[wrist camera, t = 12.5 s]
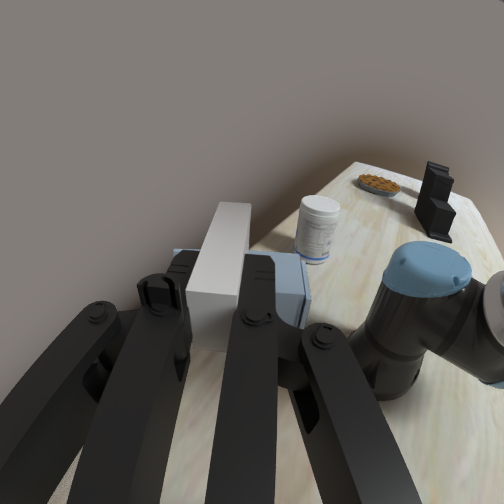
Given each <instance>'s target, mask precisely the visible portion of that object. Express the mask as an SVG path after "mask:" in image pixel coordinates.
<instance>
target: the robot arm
mask: <svg viewBox="0 0 504 504" xmlns="http://www.w3.org/2000/svg"><path fill="white" fill-rule="evenodd" d="M500 1H502V2H504V0H500ZM250 215H251V204H248V203H234V202H220V204H219V206H218V208H217V211H216V213H215V216H214V218H213V220H212V223H211V226H210V228H209V230H208V233H207V235H206V238H205V240H204V243H203V246H202V248H201V251H196V250H184V249H183V250H182V251H180V252H179V253H178V254H177V255H175V256H174V258H173V260H172V262H171V265H170V266H169V268H168V270H167V273H166V274H153V275H149V276H147V277H145V278H143V279H141V280H140V282H139V283H138V284H137V288H138V293H139V296H140V300H141V304H142V306H141V308H139V309H135V310H129V311H119V312H117V310H116V307H115V305H113V304H112V303H110V302H107V301H96V302H94V303H91V304H89V305H88V306H87V307H85V308H84V309H83V310H82V311H81V312H80V313H79V314H78V315H77V316H76V317H75V318H74V319H73V320H72V321H71V323H70V324H69V325H68V326H67V327H66V328H65V329H64V330H63V331H62V332H61V333H60V334H59V335H58V337H57V338H56V339H55V340H54V341H53V342H52V343H51V344H50V345H49V346H48V348H47V349H46V350H45V351H44V352H43V353H42V354H41V356H40V357H39V358H38V359H37V360H36V361H35V362H34V364H33V365H32V366H31V367H30V369H29V370H28V371H27V372H26V373H25V374H24V376H23V377H22V378H21V379H20V381H19V382H18V383H17V384H16V385H15V387H14V388H13V389H12V390H11V392H10V393H9V394H8V396H7V397H6V398H5V400H4V401H3V402H2V403H1V405H0V504H47V502H48V501H49V499H50V497H51V496H52V494H53V492H54V491H55V489H56V488H57V486H58V484H59V483H60V481H61V480H62V478H63V476H64V475H65V473H66V472H67V470H68V468H69V467H70V465H71V464H72V462H73V461H74V459H75V457H76V456H77V454H78V453H79V451H80V450H81V448H82V447H83V449H82V452H81V455H80V458H79V462H78V465H77V468H76V471H75V475H74V478H73V482H72V485H71V489H70V492H69V496H68V500H67V504H159V503H160V497H161V492H162V487H163V482H164V476H165V471H166V467H167V462H168V457H169V452H170V447H171V443H172V438H173V433H174V429H175V424H176V420H177V415H178V411H179V407H180V402H181V398H182V394H183V389H184V385H185V381H186V377H187V373H188V368H189V364H190V351H189V350H190V346H191V342H192V343H193V348H196V349H204V350H212V351H221V352H227V355H226V361H225V368H224V374H223V381H222V387H221V394H220V401H219V407H218V414H217V421H216V427H215V434H214V441H213V448H212V455H211V461H210V468H209V475H208V482H207V490H206V497H205V504H274V498H275V474H276V443H277V393H278V386H281V387H284V388H287V389H288V392H289V395H290V399H291V402H292V405H293V409H294V412H295V415H296V418H297V422H298V425H299V428H300V431H301V435H302V438H303V441H304V444H305V448H306V451H307V454H308V457H309V461H310V464H311V467H312V470H313V473H314V477H315V480H316V483H317V486H318V490H319V493H320V496H321V499H322V502H323V504H422V502H421V500H420V497H419V495H418V492H417V490H416V487H415V485H414V482H413V480H412V478H411V475H410V473H409V470H408V468H407V466H406V463H405V461H404V459H403V457H402V454H401V452H400V450H399V447H398V445H397V443H396V441H395V438H394V436H393V434H392V432H391V430H390V427H389V425H388V423H387V421H386V419H385V417H384V415H383V412H382V410H381V408H380V406H379V404H378V402H377V400H381V401H386V400H392V399H396V398H398V397H400V396H402V395H403V394H405V393H406V392H407V391H408V390H409V389H410V388H411V386H412V385H413V384H414V383H415V381H416V379H417V377H418V375H419V372H420V368H421V365H422V361H423V358H424V354H425V352H426V351H427V349H428V350H430V351H431V352H433V353H435V354H437V355H439V356H440V357H442V358H444V359H445V360H447V361H449V362H450V363H452V364H454V365H456V366H457V367H459V368H461V369H462V370H464V371H466V372H468V373H469V374H471V375H473V376H474V377H476V378H478V379H479V381H481V382H482V383H484V384H486V385H489V386H493V387H495V388H498V389H504V271H500V272H498V273H496V274H494V275H493V276H492V277H491V278H490V279H489V281H488V282H487V284H486V285H484V284H483V283H481V282H479V281H477V280H475V279H474V278H472V277H471V276H472V275H471V273H472V270H471V266H470V264H469V262H468V261H467V260H466V259H465V258H464V257H461V256H460V254H459V253H458V252H456V251H455V250H453V249H451V248H449V247H446V246H443V245H440V244H437V243H432V242H426V241H415V242H409V243H406V244H403V245H401V246H400V247H398V248H397V249H396V250H395V252H394V253H393V255H392V257H391V259H390V262H389V264H388V266H387V268H386V269H385V271H384V272H383V277H382V281H381V284H380V286H379V289H378V292H377V294H376V297H375V299H374V302H373V304H372V306H371V309H370V311H369V314H368V316H367V318H366V320H365V322H364V323H363V324H362V325H361V326H360V327H359V328H358V329H357V330H355V331H354V332H353V333H351V334H350V335H349V337H348V338H347V339H346V338H345V336H344V334H343V333H342V332H341V331H340V330H339V329H338V328H336V327H335V326H333V325H330V324H326V323H315V324H312V325H309V326H308V327H307V328H305V329H301V328H297V327H294V326H292V325H289V324H287V323H286V322H284V321H283V320H282V319H281V318H280V317H279V316H278V314H277V312H276V287H275V262H274V261H273V259H272V258H271V256H269V255H257V254H248V249H249V231H250ZM83 445H84V446H83Z"/></svg>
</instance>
